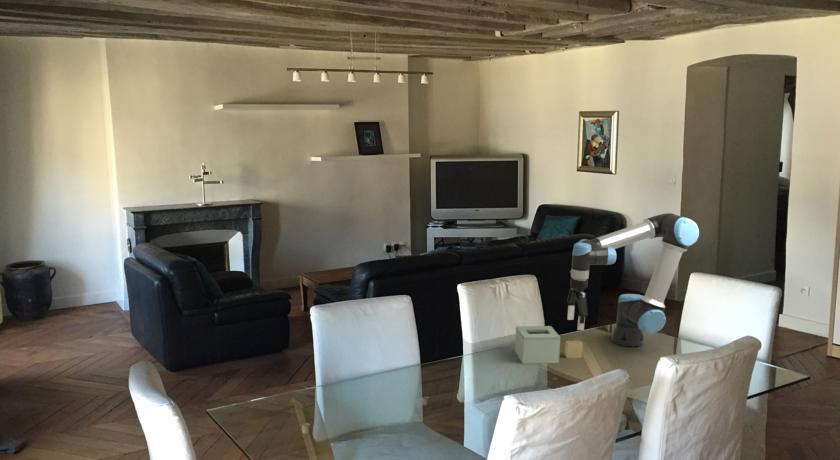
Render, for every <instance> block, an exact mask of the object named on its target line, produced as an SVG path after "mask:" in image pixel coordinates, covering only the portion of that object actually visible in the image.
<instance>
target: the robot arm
mask: <svg viewBox="0 0 840 460" xmlns="http://www.w3.org/2000/svg"><path fill="white" fill-rule="evenodd" d="M699 235H700V230H699V227H698V224H697V223H696V222H695V221H694V220H692V219H690V218H688V217H685V216H681V215H678V214H675V213H670V212H668V213H667V212H666V213H661V214H657V215H654V216H651V217H648V218H645V219H643V221H642V222H640V223H637V224H635V225H630V226H627V227H625V228H622V229H619V230H615V231H614V232H613V231H612V232H610V233H607V234H604V235H601V236H599V237H596V238H592V239H586V238H584V239H580V240H579V241H578V242H576V243H574V245H573V249H572V258H571V259H572V260H571V270H570V271H569V273H570V281H569V287H570V288H569V292H568V295H567V298H566V303H567V318H566V319H567V320H568V321H572V320H575V319H574V318H575V308H576V307H575V305H576V303H577V308H578V315H577V316H578V318H577V326H576V327H577V328H576V329H577V331H584V330H585V321H586V317H588V316H589V315H588V303H587V293H586V292H584V290H585V289H587V288H588V286H589V285H588V283H589V276H590V266H600V265H601V266H608V265H613V264H615V263H616V261H617V251H616V249H619V248H622V247H626V246H628V245H631V244H634V243H637V242H640V241H642V240H646V239H650V240H653V239H657V238H662V239H661V244H662V249H661V252H660V254H659V257H658V259H657V263H656V265H655V268H654V270H653V273H652V276H651V278H650V280H649V283H648V286H647V289H646V291H645V293H644V295H643V294H642V295H641V294H638V293H637V294H636V293H624V294H621V295H619V296H618V300H617V303H618V304H617V312H616V313H617V315H616V322H615V327H614V329H613V331H612V333H611V338H610V340H611V342H613V343H614V344H617V345H618V346H623V347H627V346H633V347H632V348H635V347H634V346H639V347H642V346H644V344H645V336H644V332H645V333H647V334H655V333H657V332H660V331H661V330H662V329H663V327H664V326H665V324H666V323H667V322H666V321H667V317H666V314H665V313H664V312H665V309H666V305H665V300H666V297H667V294H668V292H669V290H670V288H671V287H670V286H671V284H672V281H673V278H674V275H675V273H676V270H677V269H678V267H679V266H678V265H679V264H680V260H681V258H682V255H683V253H685V252H687V251H688V250H689V247H690V246H692V245H694V244H695V243H696V242H697V241H698V238H699Z"/></svg>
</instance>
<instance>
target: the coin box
mask: <svg viewBox="0 0 840 460" xmlns="http://www.w3.org/2000/svg"><path fill="white" fill-rule="evenodd" d="M515 326H516V325H515ZM560 347H561V336H560V335H559V334H558V332H557V331H556V330H555V329H554V327H552V325H538V326H537V325H530V326H529V325H527V326H523V325H522V326H521V325H519V326H516V327H515V343H514V353H515V352H516V353H515V355H516V356H517V355H518V356H517V357H518V359H519V360H520V362H521V363H522V364H523V365H527V364H534V365H535V364H559V362H560V351H561V348H560Z"/></svg>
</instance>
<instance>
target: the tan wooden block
mask: <svg viewBox="0 0 840 460" xmlns="http://www.w3.org/2000/svg"><path fill="white" fill-rule="evenodd" d="M564 344H565V346H564V357H565V359H581V358H582V357H583V348H584V342H583V341H582V340H565V343H564Z"/></svg>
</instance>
